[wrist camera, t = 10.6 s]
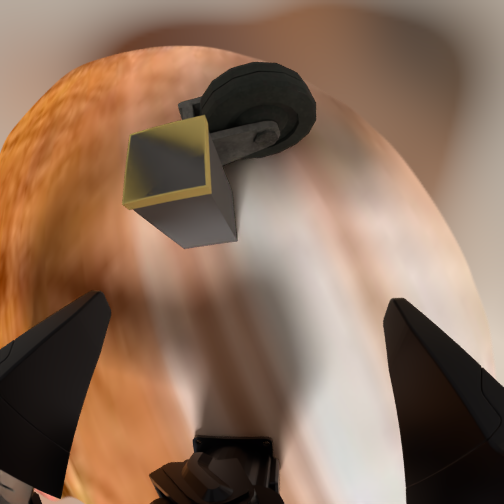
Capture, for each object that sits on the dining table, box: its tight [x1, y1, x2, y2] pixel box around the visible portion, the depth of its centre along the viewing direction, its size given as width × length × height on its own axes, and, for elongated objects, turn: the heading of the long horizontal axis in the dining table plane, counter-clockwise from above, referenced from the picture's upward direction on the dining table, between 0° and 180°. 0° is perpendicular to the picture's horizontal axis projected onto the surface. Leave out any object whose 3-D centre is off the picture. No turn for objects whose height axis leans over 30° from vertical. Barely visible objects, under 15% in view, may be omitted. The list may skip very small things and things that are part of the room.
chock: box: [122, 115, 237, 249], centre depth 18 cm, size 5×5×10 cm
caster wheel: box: [178, 62, 316, 166], centre depth 20 cm, size 6×10×15 cm
